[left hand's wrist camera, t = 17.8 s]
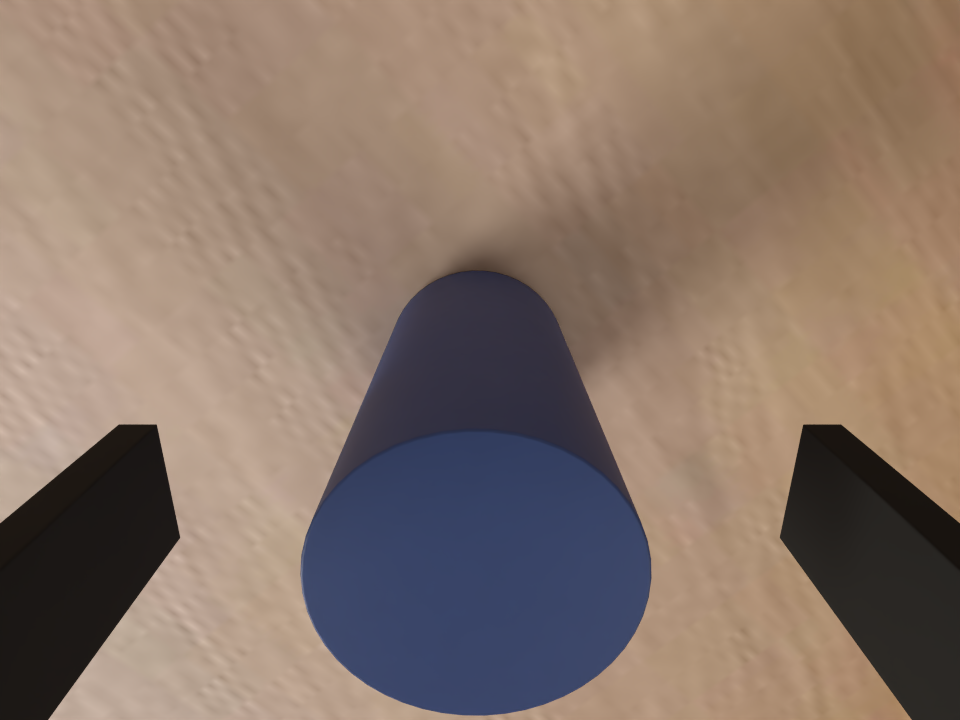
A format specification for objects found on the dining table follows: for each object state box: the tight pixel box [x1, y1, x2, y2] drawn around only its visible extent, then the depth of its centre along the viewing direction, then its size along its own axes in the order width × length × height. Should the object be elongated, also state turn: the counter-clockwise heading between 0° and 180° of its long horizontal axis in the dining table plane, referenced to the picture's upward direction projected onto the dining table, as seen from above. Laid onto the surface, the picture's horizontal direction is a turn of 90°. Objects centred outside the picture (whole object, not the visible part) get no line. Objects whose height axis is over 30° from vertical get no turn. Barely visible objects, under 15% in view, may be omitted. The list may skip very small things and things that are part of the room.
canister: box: [301, 271, 651, 715], centre depth 15 cm, size 6×6×11 cm
